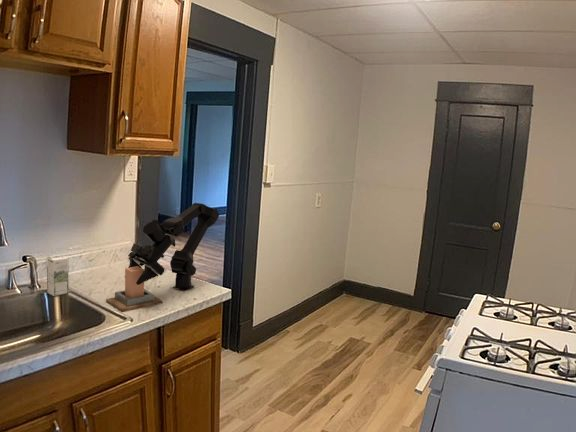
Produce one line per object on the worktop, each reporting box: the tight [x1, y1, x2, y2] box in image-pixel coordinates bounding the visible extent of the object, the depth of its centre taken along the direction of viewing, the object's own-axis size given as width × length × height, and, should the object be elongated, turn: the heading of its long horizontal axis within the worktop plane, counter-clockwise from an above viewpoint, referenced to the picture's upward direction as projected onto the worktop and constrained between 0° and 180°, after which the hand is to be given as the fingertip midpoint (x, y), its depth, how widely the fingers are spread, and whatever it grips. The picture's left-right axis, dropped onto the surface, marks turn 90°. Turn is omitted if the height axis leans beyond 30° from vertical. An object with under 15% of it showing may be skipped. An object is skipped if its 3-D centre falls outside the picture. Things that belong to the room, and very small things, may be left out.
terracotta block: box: [124, 266, 145, 298], centre depth 173 cm, size 5×5×12 cm
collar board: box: [105, 288, 163, 313], centre depth 174 cm, size 16×13×4 cm
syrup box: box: [46, 254, 70, 297], centre depth 177 cm, size 6×6×14 cm
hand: (131, 281), depth 172 cm, fingers open, 9 cm apart
